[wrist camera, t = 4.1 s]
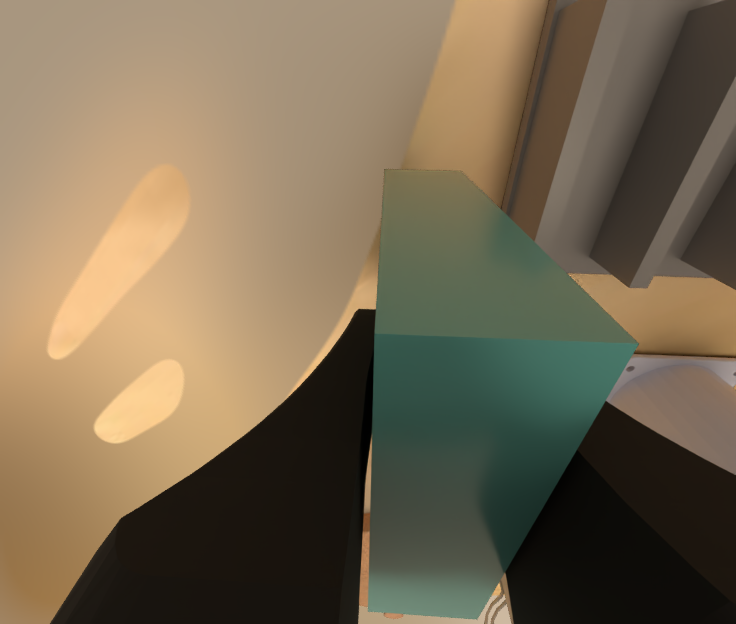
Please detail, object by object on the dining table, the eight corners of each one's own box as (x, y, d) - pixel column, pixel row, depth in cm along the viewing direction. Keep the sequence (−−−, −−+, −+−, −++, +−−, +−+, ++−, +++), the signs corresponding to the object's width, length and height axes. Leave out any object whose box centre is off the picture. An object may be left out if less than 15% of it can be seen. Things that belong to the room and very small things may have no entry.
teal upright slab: (432, 358, 15) (477, 618, 7) (378, 355, 15) (367, 611, 8) (461, 170, 11) (639, 343, 3) (384, 169, 11) (374, 333, 3)
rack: (765, 273, 19) (856, 315, 15) (488, 264, 19) (511, 302, 16) (982, -19, 12) (1234, -70, 9) (554, -20, 13) (620, -68, 9)
